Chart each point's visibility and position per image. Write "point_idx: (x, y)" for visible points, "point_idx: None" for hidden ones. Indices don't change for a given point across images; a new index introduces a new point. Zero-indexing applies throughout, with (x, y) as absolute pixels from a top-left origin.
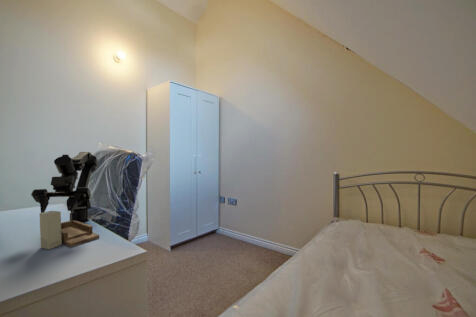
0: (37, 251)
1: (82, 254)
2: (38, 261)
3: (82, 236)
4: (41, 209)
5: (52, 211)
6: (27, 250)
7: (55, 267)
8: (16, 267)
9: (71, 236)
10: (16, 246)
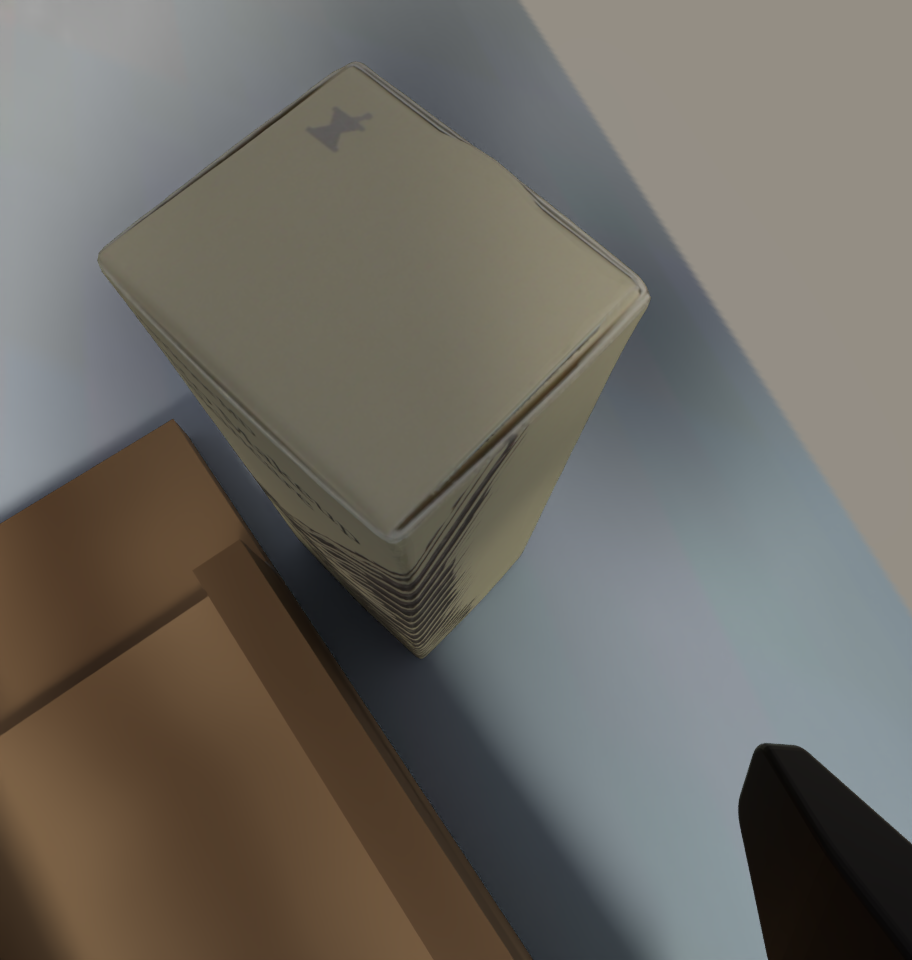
0: None
1: (60, 200)
2: None
3: (47, 666)
4: (873, 832)
5: (336, 351)
6: (641, 523)
7: (241, 50)
8: (538, 150)
9: (177, 626)
10: (865, 741)
